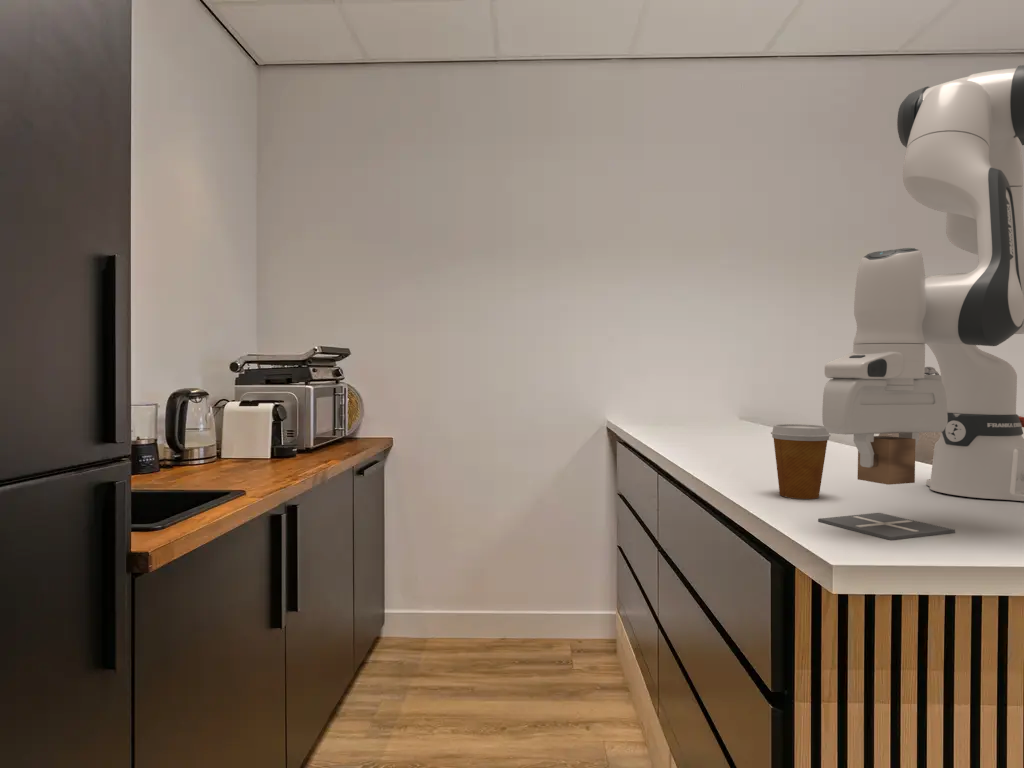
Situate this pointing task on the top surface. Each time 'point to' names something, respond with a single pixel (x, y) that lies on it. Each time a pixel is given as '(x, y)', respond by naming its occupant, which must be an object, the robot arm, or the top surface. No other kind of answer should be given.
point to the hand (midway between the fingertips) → (885, 466)
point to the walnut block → (891, 461)
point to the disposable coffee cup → (800, 459)
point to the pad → (886, 526)
